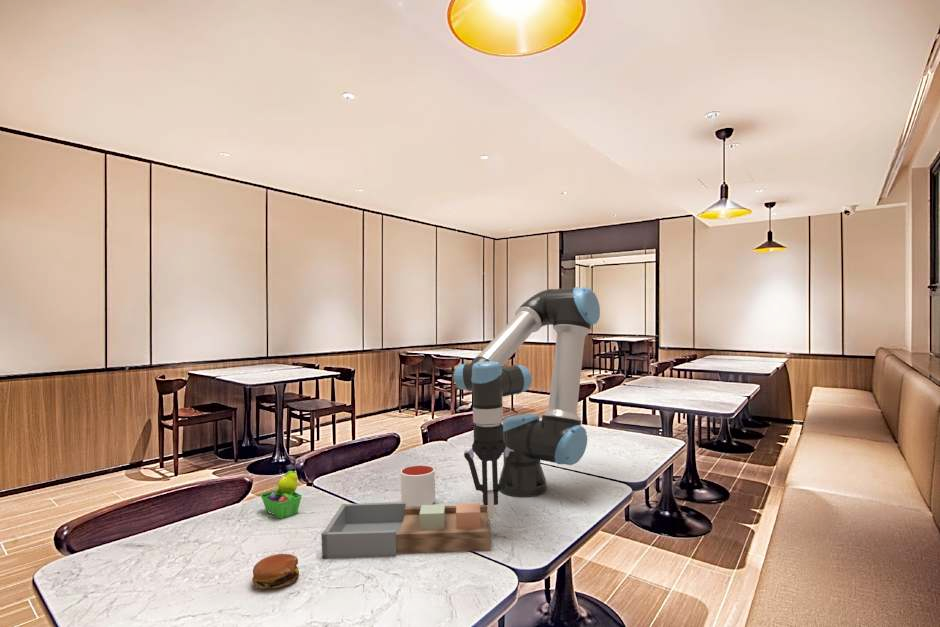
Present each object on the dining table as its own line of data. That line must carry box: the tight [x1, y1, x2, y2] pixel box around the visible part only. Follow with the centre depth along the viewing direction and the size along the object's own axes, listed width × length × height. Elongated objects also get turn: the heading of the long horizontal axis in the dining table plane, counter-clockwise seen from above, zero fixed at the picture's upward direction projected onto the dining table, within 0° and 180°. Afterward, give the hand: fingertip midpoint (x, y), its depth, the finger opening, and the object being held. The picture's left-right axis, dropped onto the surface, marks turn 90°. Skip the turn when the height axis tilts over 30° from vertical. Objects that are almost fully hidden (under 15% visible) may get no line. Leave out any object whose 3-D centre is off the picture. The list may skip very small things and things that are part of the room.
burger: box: [252, 553, 300, 590], centre depth 109 cm, size 10×9×5 cm
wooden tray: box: [396, 504, 491, 555], centre depth 128 cm, size 22×17×4 cm
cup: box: [400, 464, 436, 507], centre depth 151 cm, size 10×10×10 cm
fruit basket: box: [260, 470, 303, 519], centre depth 148 cm, size 11×9×11 cm
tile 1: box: [419, 503, 446, 530], centre depth 128 cm, size 6×6×4 cm
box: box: [321, 501, 406, 559], centre depth 128 cm, size 17×19×6 cm
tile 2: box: [455, 502, 481, 529], centre depth 128 cm, size 6×6×4 cm
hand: (491, 517), depth 128 cm, fingers closed
